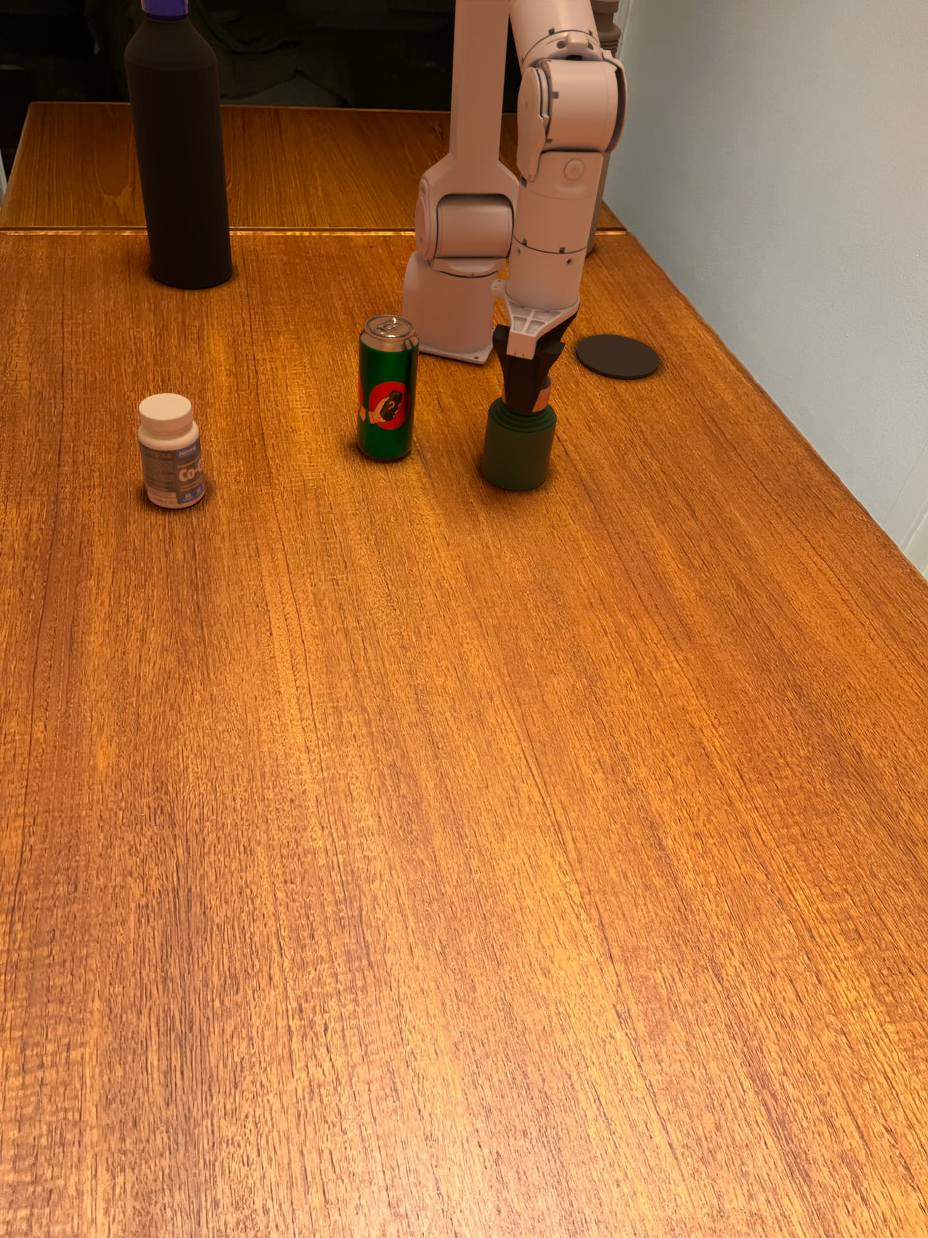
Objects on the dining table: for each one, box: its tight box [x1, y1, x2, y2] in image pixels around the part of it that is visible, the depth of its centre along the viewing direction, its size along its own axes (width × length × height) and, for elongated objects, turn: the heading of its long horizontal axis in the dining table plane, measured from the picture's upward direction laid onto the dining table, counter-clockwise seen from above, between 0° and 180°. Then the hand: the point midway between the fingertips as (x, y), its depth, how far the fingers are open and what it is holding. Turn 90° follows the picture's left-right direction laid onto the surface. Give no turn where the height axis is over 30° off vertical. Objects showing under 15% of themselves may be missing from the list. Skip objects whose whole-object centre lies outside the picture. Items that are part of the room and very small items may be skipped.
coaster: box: [575, 333, 660, 380], centre depth 105 cm, size 9×9×1 cm
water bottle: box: [585, 0, 622, 256], centre depth 116 cm, size 10×10×28 cm
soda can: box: [356, 314, 420, 461], centre depth 85 cm, size 5×5×12 cm
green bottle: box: [480, 396, 558, 492], centre depth 85 cm, size 6×6×9 cm
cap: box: [500, 374, 553, 412], centre depth 82 cm, size 4×4×2 cm
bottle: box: [123, 0, 233, 290], centre depth 101 cm, size 9×9×28 cm
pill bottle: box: [137, 392, 206, 509], centre depth 78 cm, size 5×5×8 cm
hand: (525, 395), depth 83 cm, fingers open, 4 cm apart
